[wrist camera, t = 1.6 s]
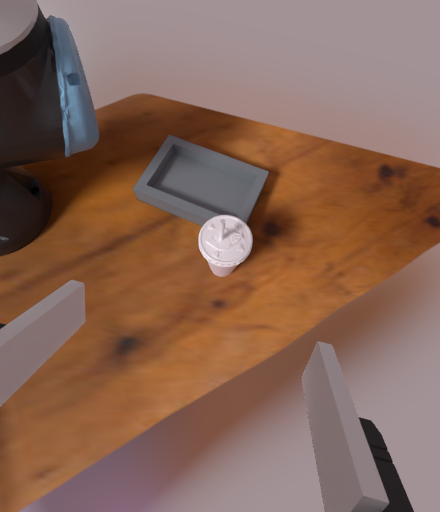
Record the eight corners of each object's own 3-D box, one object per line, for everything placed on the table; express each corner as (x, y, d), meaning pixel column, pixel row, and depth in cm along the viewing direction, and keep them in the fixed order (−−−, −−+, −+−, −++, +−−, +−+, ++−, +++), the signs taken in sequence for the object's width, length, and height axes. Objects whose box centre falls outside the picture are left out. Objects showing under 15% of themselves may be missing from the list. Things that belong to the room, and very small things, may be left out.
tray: (137, 199, 42) (132, 188, 39) (171, 147, 46) (169, 134, 43) (239, 241, 40) (241, 233, 38) (265, 183, 44) (269, 171, 42)
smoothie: (198, 248, 40) (192, 197, 27) (239, 242, 40) (252, 189, 27) (204, 288, 38) (201, 254, 24) (247, 281, 38) (266, 245, 25)
